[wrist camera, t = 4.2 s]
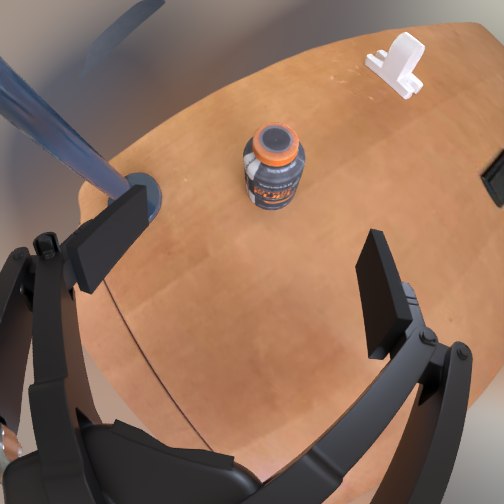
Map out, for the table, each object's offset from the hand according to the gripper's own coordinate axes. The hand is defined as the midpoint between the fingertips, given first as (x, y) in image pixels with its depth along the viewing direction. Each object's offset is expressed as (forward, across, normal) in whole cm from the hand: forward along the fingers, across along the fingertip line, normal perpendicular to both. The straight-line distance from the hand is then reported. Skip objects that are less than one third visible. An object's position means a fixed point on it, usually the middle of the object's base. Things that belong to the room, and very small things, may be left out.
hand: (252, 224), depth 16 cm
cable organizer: (+38, -16, -13) cm, 43 cm away
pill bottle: (+19, 0, +6) cm, 19 cm away
